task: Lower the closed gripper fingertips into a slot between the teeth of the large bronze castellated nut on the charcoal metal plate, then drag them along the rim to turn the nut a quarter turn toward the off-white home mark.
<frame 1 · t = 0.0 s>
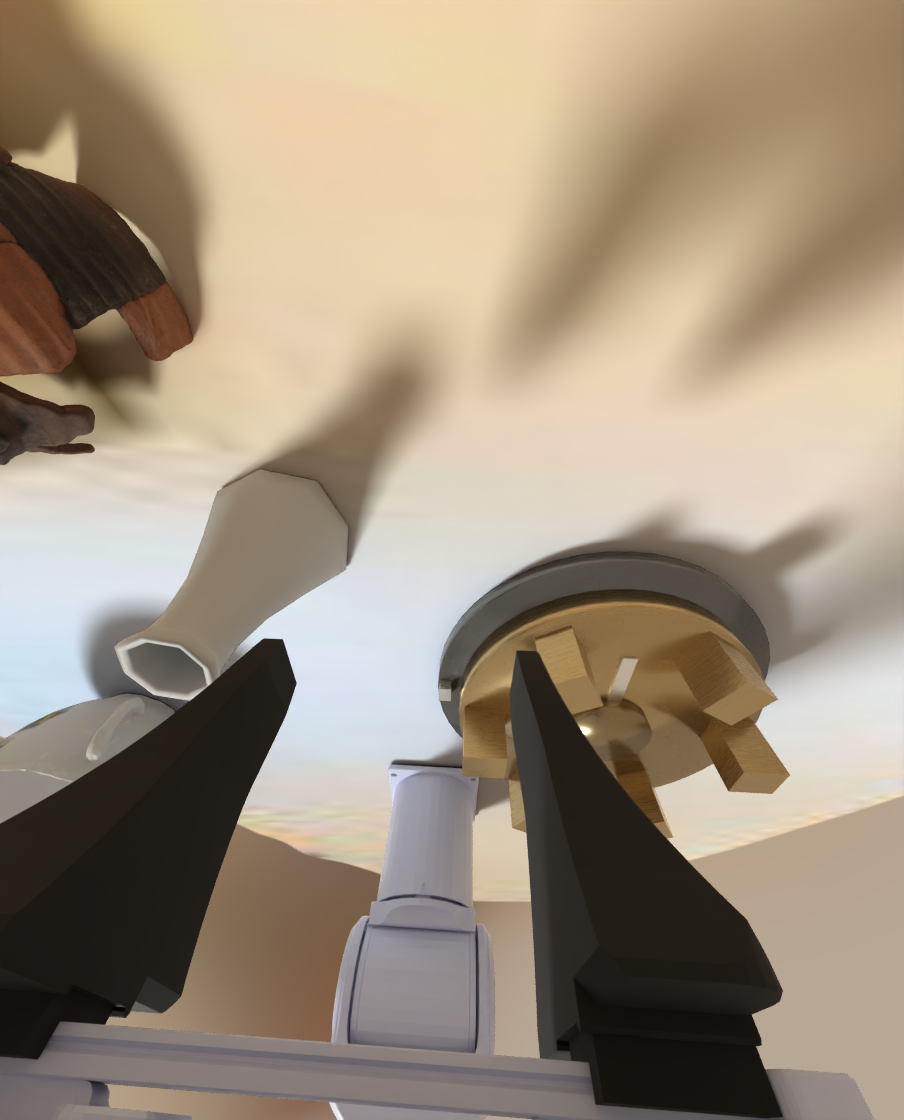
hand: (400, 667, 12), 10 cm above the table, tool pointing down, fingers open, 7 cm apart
teacup: (152, 705, 31), on the table
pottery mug: (66, 285, 16), on the table
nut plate: (589, 679, 27), on the table
flask: (288, 528, 21), on the table
ring nut: (606, 732, 23), point 4 cm above the table, hinge at 0.0°
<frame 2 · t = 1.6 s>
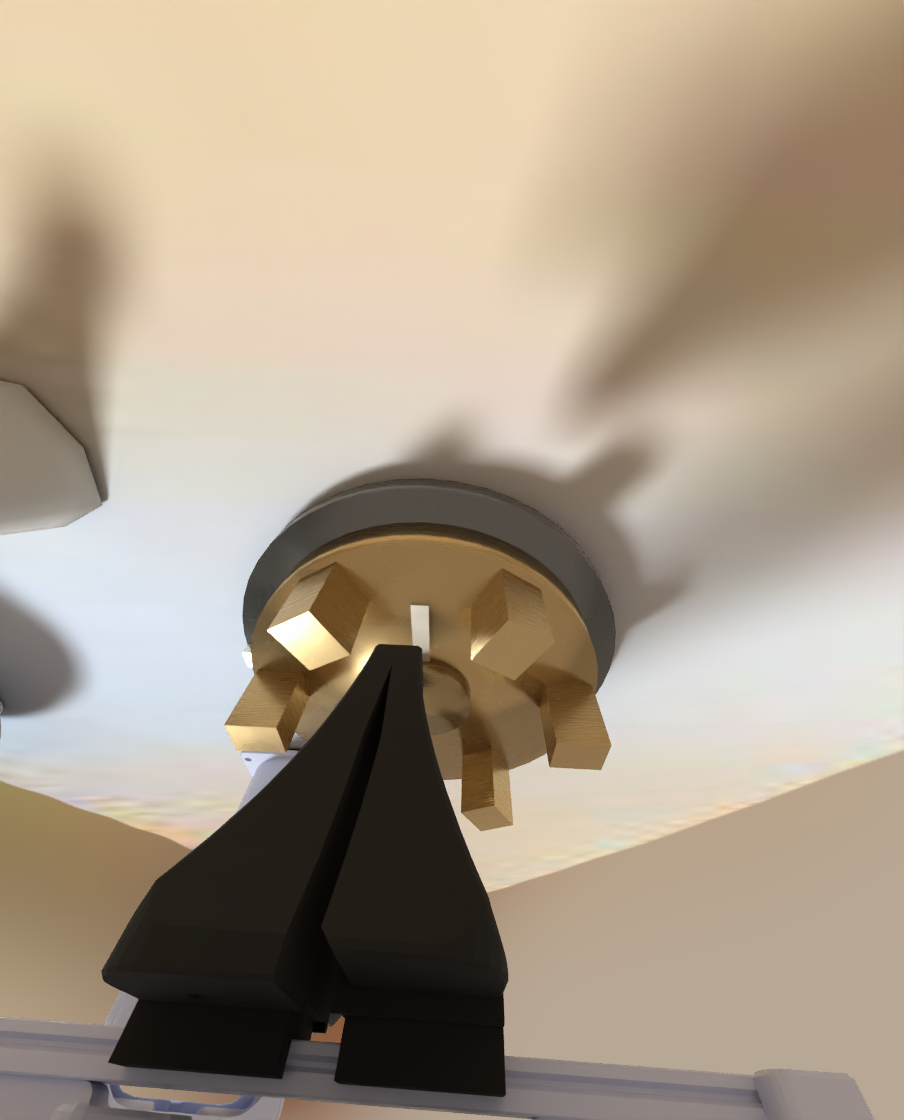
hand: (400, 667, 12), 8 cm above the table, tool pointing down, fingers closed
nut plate: (429, 644, 23), on the table
flask: (23, 453, 18), on the table
ring nut: (421, 700, 20), point 4 cm above the table, hinge at 0.0°
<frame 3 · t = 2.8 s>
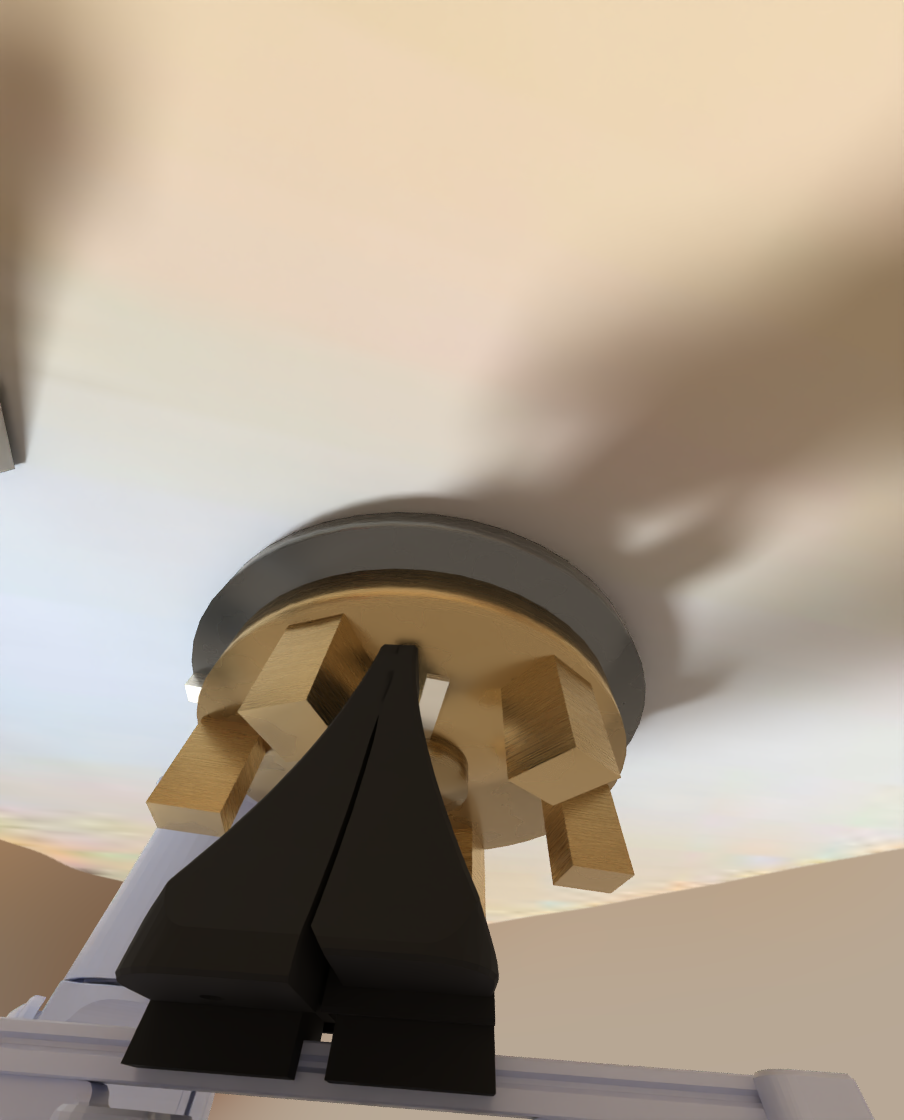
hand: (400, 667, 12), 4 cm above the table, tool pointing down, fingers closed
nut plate: (420, 698, 19), on the table
ring nut: (409, 778, 16), point 4 cm above the table, hinge at 0.1°, touching gripper
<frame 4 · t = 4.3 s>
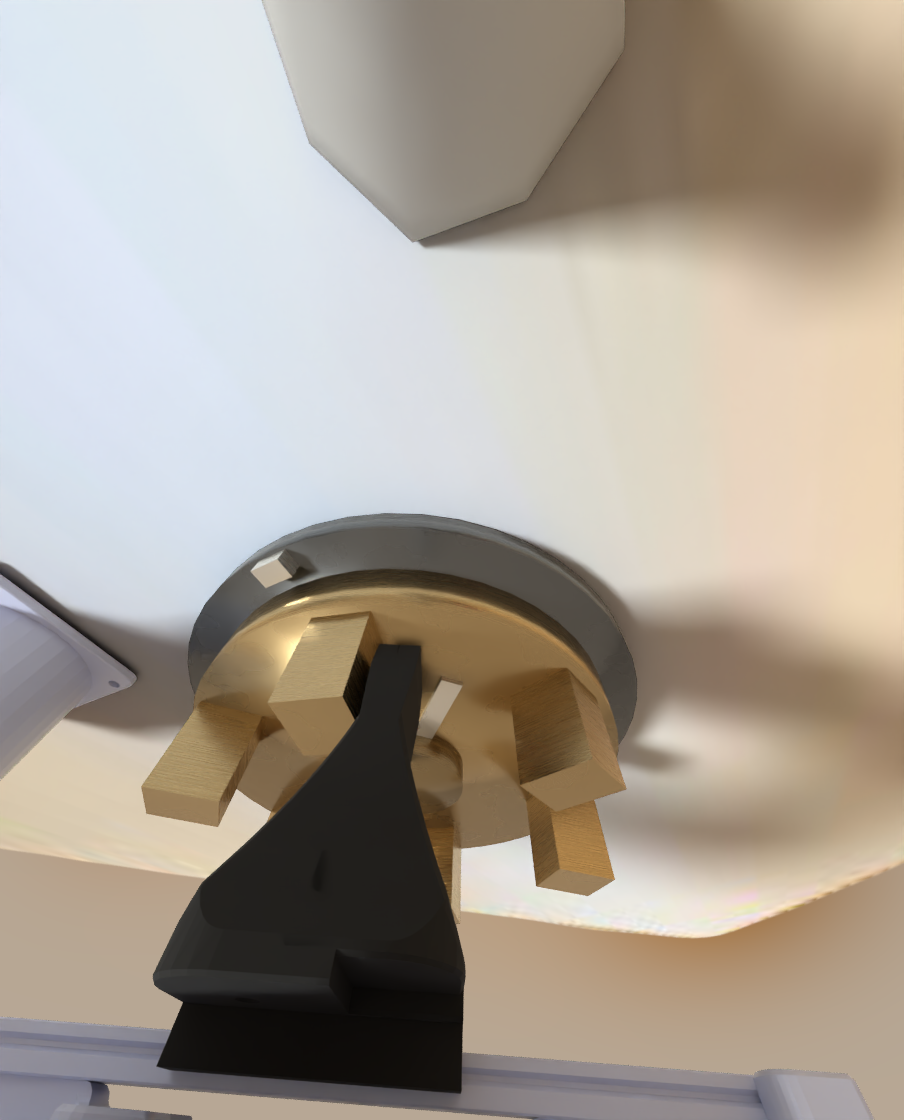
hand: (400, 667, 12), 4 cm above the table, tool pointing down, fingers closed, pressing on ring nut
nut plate: (415, 697, 20), on the table
flask: (440, 10, 8), on the table
ring nut: (404, 776, 16), point 4 cm above the table, hinge at 44.6°, touching gripper
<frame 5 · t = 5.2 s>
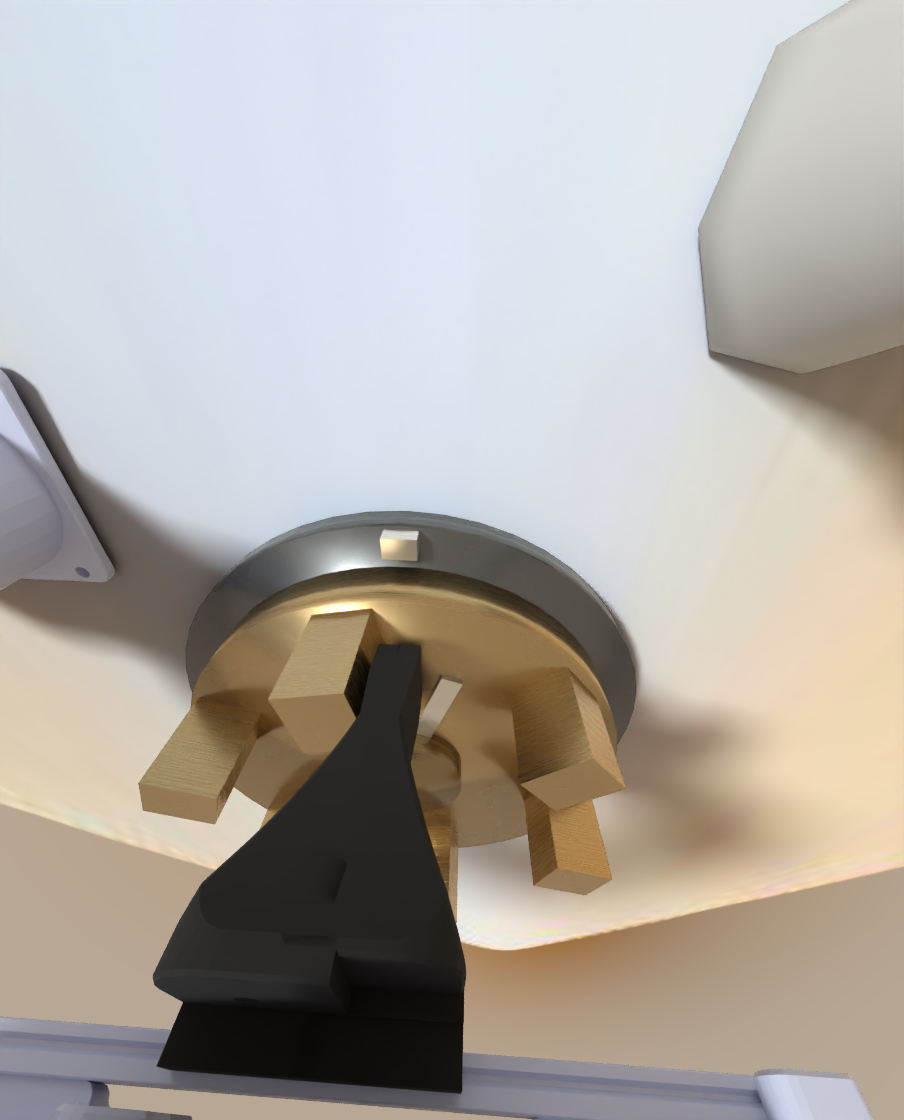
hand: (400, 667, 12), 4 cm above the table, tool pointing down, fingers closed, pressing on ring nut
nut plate: (413, 696, 20), on the table
flask: (843, 208, 9), on the table
ring nut: (402, 775, 16), point 4 cm above the table, hinge at 71.2°, touching gripper
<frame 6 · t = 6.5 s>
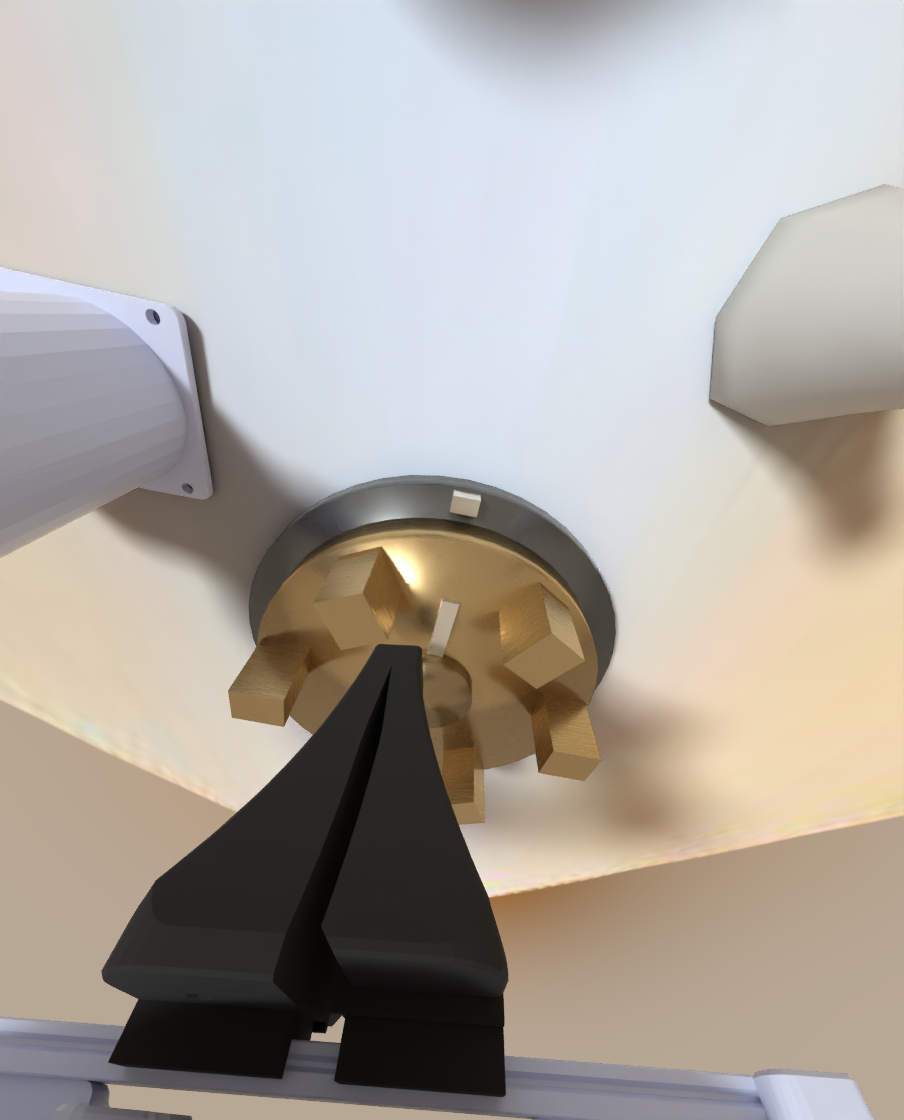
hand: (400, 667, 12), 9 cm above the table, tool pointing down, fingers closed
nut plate: (431, 638, 23), on the table
flask: (807, 322, 14), on the table
ring nut: (424, 692, 20), point 4 cm above the table, hinge at 87.8°
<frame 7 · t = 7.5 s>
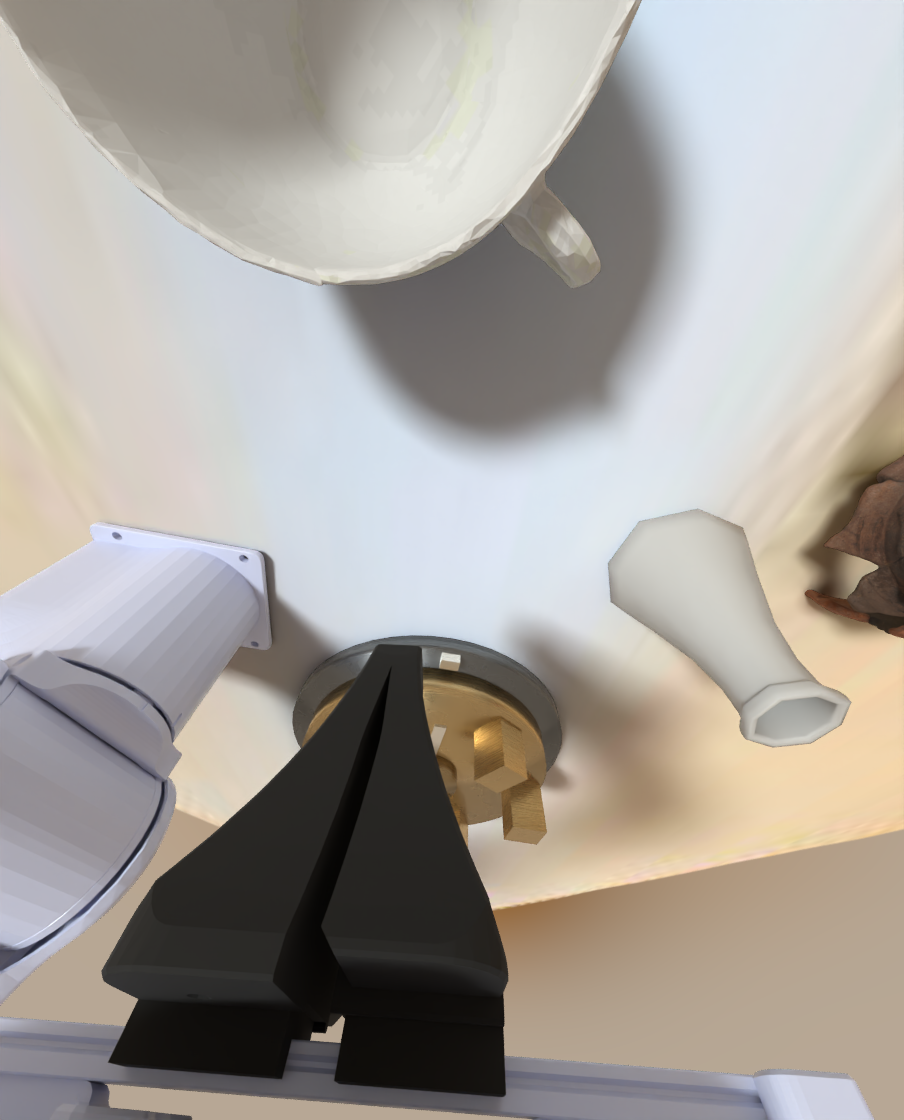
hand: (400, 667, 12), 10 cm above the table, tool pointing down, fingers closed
teacup: (410, 98, 13), on the table
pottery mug: (894, 525, 20), on the table
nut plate: (427, 729, 31), on the table
flask: (668, 562, 22), on the table
ring nut: (422, 779, 28), point 4 cm above the table, hinge at 87.8°
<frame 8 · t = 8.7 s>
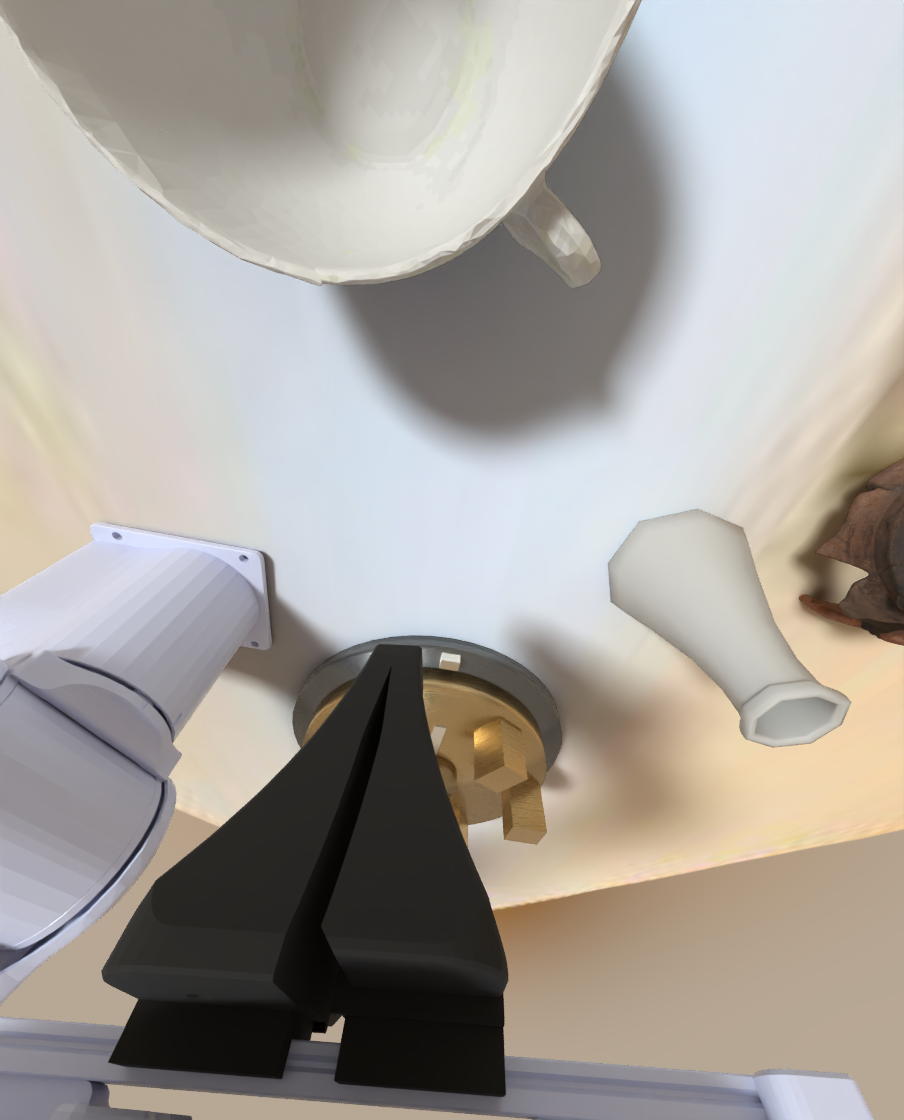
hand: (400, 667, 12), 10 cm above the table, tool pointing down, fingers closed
teacup: (410, 98, 13), on the table
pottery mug: (886, 531, 20), on the table
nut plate: (427, 729, 31), on the table
flask: (668, 562, 22), on the table
ring nut: (422, 779, 28), point 4 cm above the table, hinge at 87.8°
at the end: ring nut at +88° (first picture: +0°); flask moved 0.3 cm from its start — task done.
